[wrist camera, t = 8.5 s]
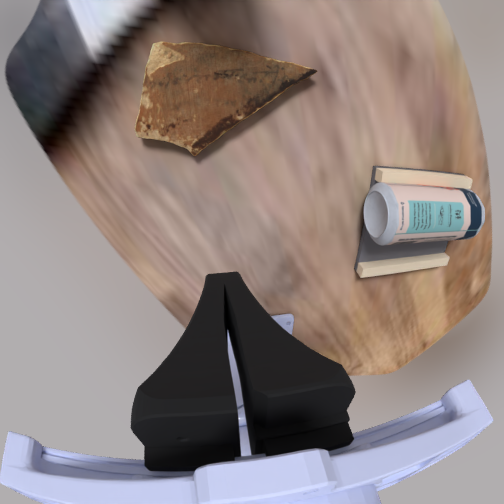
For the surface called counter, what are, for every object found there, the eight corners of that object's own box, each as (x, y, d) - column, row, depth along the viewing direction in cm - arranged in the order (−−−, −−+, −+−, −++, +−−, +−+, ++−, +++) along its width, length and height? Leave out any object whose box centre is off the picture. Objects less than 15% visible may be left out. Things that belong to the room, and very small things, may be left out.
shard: (310, 71, 18) (319, 70, 16) (284, 167, 21) (290, 174, 20) (156, 41, 15) (151, 36, 13) (137, 145, 19) (131, 150, 17)
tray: (439, 257, 29) (446, 265, 27) (354, 268, 27) (360, 277, 26) (462, 174, 23) (472, 179, 22) (373, 165, 22) (382, 171, 20)
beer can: (354, 219, 24) (448, 217, 26) (378, 259, 21) (473, 249, 22) (369, 170, 21) (465, 179, 22) (400, 207, 17) (495, 209, 19)
